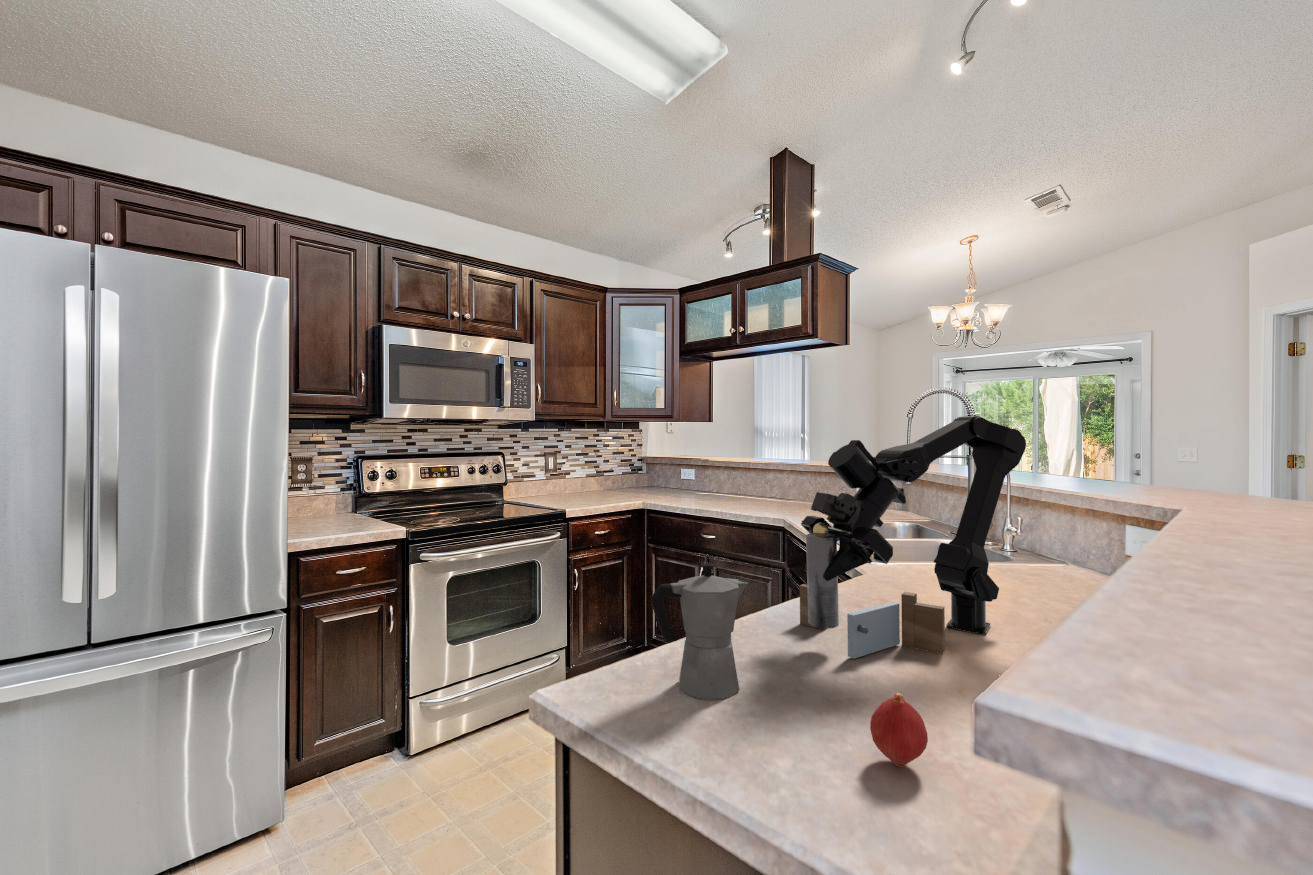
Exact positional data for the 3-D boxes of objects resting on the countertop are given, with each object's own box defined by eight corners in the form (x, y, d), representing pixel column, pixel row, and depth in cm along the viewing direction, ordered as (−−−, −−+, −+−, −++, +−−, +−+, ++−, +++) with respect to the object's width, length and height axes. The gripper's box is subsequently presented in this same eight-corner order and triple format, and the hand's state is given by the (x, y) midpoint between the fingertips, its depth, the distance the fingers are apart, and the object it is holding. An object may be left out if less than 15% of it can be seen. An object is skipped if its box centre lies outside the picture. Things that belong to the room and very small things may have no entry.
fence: (803, 621, 111) (803, 576, 111) (945, 650, 95) (944, 597, 95) (799, 624, 109) (799, 578, 109) (942, 654, 94) (942, 600, 94)
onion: (861, 751, 65) (860, 682, 65) (909, 748, 65) (908, 679, 65) (886, 782, 59) (885, 706, 59) (938, 778, 60) (937, 703, 60)
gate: (893, 641, 99) (893, 601, 99) (907, 646, 97) (906, 605, 97) (847, 656, 92) (847, 613, 92) (861, 661, 90) (860, 617, 90)
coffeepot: (733, 667, 89) (732, 553, 89) (765, 692, 80) (763, 566, 80) (641, 682, 84) (640, 561, 84) (663, 711, 75) (662, 576, 75)
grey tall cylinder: (815, 616, 100) (812, 519, 100) (843, 621, 97) (840, 521, 96) (803, 624, 96) (800, 523, 96) (832, 630, 93) (829, 525, 93)
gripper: (808, 472, 106) (757, 535, 103) (876, 479, 88) (817, 555, 85) (844, 511, 109) (796, 574, 105) (917, 525, 91) (862, 601, 87)
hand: (815, 575), depth 96 cm, fingers closed on grey tall cylinder, 5 cm apart
